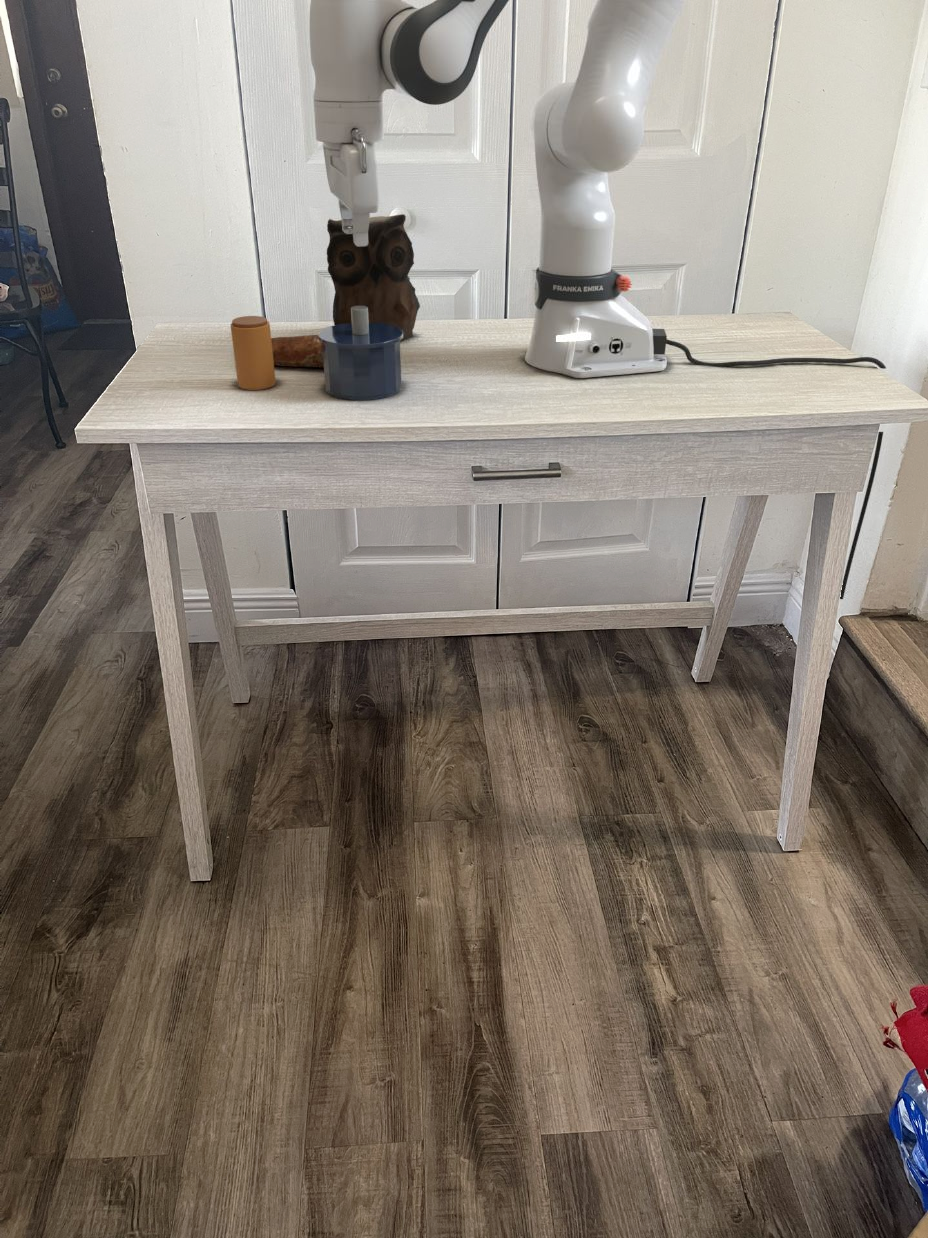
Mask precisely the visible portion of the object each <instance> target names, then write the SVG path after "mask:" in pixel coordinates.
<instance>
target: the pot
mask: <svg viewBox="0 0 928 1238" xmlns="http://www.w3.org/2000/svg"><path fill="white" fill-rule="evenodd" d="M322 350H323V363H324V368H323V374H324V387H325V391H326V393H328V394H329V396H330V395H331V396H332V397H335V398H338V399H343V400H347V401H348V400H349V401H350V400H351V401H372V400H373V401H374V400H380V399H385V398H389V397H392V396H394V395H396V394H398V393H399V392H400V391H401V390H402V361H401V360H402V359H401V358H402V357H401V341H399V342H397V343H395V344H392V345H388V346H384V347H378V348H369V349H346V348H337V347H332V346H328V345H326V344H323V343H322Z"/></svg>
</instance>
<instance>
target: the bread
mask: <svg viewBox="0 0 928 1238" xmlns="http://www.w3.org/2000/svg"><path fill="white" fill-rule="evenodd" d="M271 341H272V351H273V360H274V366H279V367H294V368H298V367H304V368H321V369H324V363H323V350H322V342H320V341H319V337H318V334H309V335H308V334H307V335H294V336H279V337H278V336H277V337H271Z"/></svg>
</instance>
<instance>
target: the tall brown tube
mask: <svg viewBox="0 0 928 1238" xmlns="http://www.w3.org/2000/svg"><path fill="white" fill-rule="evenodd" d="M229 326H230V333H231V340H232V347H233V348H232V349H233V358H234V366H235V372H236V381H237V386H238V388H240V389H242V390H245V391H260V390H267V389H271V388H273V387H275V386H276V384H277V379H276V370H275V365H274V360H273V351H272V341H271V338H272V331H271V323H270V321H269V320H268V318H267V317H265V316H261V315H243V316H239V317H235V318H234V319H232V320H231V323H230V325H229Z"/></svg>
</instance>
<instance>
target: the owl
mask: <svg viewBox="0 0 928 1238" xmlns="http://www.w3.org/2000/svg"><path fill="white" fill-rule="evenodd" d="M406 218H407V216H406V215H405V213H402V214H401V213H400V214H395V215H394V214H393V215H389V216H388V215H387V216H385V215H384V216H383V215H382V216H381V215H380V216H379V215H378V216H370V222H369V229H368V245H367V246H360V247H358V246H356V245H355V244H354V242H353V234H345V233H344V232H343V230H342V219H340V220H339V219H338V220H334V219H332V218H329V219H327V224H326V228H327V229H326V231H327V232H328V236H329V243H328V246H327V248H326V261H327V265H328V266H327V272H328V274H329V276H330V279H331V280H332V283H333V287H334V297H333V303H332V322H333V326H334V325H339V324H345V323H352V317H351V307H353V306H366V307H368V320H369V322H372V323H383V324H388V325H392V326H395V327H398V328H400V329H401V330H402V331H403V338H402V340H401V341H400V342H403V341H405V340H407V339H411V338H413V337H414V328H415V324H416V321H417V316H418V312H419V309H420V308H421V304H420V302H419V298H418V296H417V293H416V287H414V285H413V284H412V282H411V280H410V279H411V278H410V276H409V273H410V271H411V269H412V268H413V266H414V265H415V261H414V258H415V253H414V248H413V242H412V241H411V238H410V237H409V235H408V233H407V231H406V228H405V227H404V226H405V222H406V220H407V219H406Z"/></svg>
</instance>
